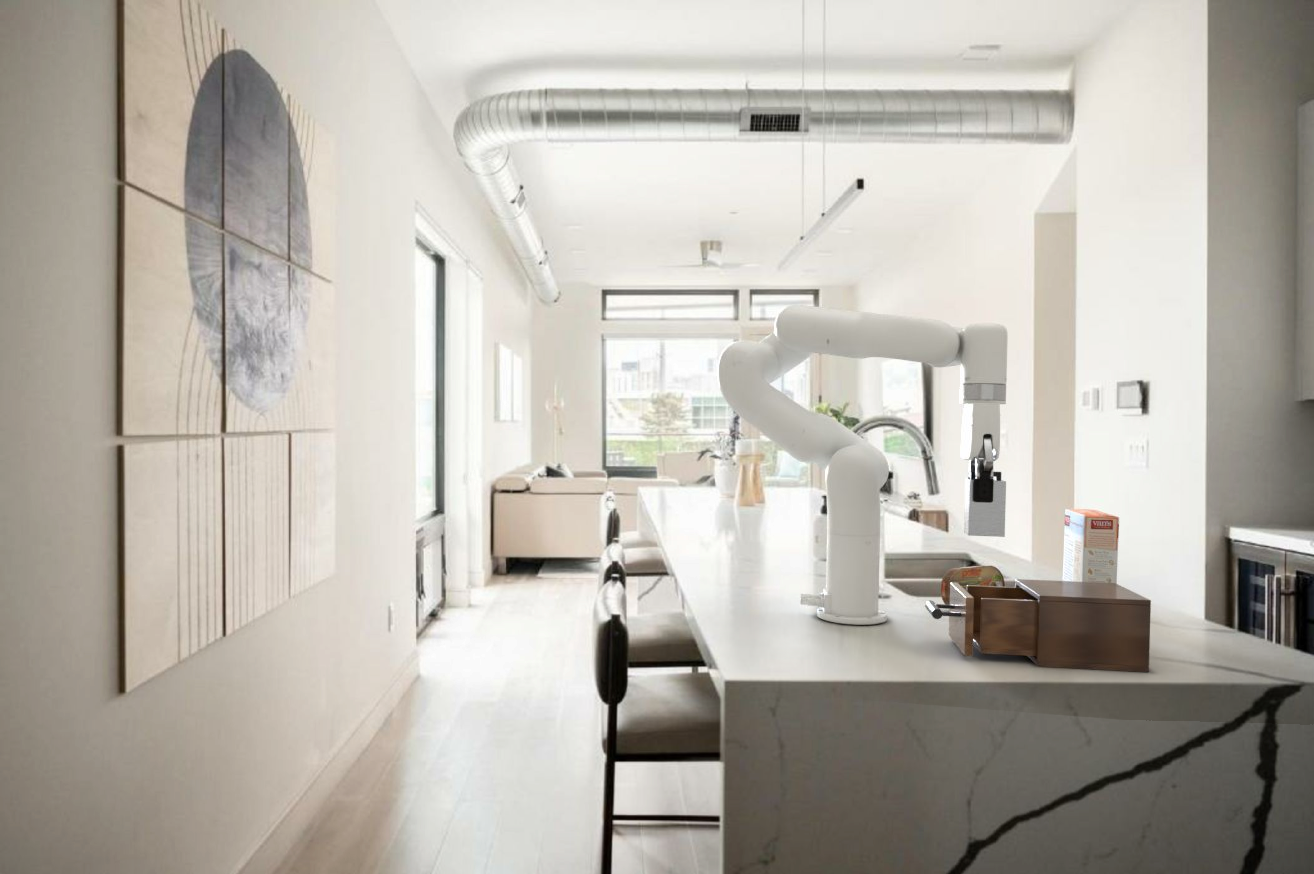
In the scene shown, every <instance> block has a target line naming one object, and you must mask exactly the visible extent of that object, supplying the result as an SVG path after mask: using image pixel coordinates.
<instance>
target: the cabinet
mask: <svg viewBox="0 0 1314 874" xmlns="http://www.w3.org/2000/svg"><path fill="white" fill-rule="evenodd" d="M1014 587H1021V588H1022V589H1024V590H1025V591H1026V592H1028V593H1029V594H1031V595H1032V596H1034V597H1035V598H1036V599H1038V622H1037V656H1027V657H1028V659H1029V660H1030V661H1032V662H1033V663H1034V664H1035V665H1036V666H1037V667H1043V668H1063V669H1081V670H1100V671H1101V670H1102V671H1103V670H1104V671H1118V672H1119V671H1120V672H1136V673H1137V672H1139V673H1150V649H1151V648H1150V645H1151V643H1150V642H1151V641H1150V640H1151V639H1150V638H1151V610H1152V609H1151V607H1152V600H1151V599H1149V598H1147V597H1145V596H1143V595H1141V594H1139V593H1137V592H1135V591H1132V590H1130V589H1129V588H1127V587H1124V586H1122V585H1120V584H1118V583H1117V584H1116V583H1099V582H1074V581H1063V580H1051V579H1050V580H1049V579H1048V580H1047V579H1045V580H1044V579H1022V578H1015V580H1014Z"/></svg>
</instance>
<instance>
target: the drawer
mask: <svg viewBox="0 0 1314 874" xmlns="http://www.w3.org/2000/svg"><path fill="white" fill-rule="evenodd" d="M924 607H925V609H926V610H927V611H928V612H929V614H930V615H931V616H932V618H933V619H935V620H939V619H941V618H942V617H948V636H949V637H950V639H951V640H952V642H954V644H955V645H956V646H957V648H958V649H959V651H961V653H962V654H963V656H965V657H966V656H968V657H973V656H974V655H973V654H974V653H973V652H974V647H975V648H976V650H977V651H978V652H979V653H980V654H985V655H987V654H989V655H1008V656H1026V657H1028V656H1037V622H1038V599H1036V598H1035V597H1034V596H1032V595H1031V594H1029V593H1028V592H1026V591H1025V590H1024V589H1022V588H1021V587H1015V586H1005V587H1001V586H977V585H967V590H965V589H964V588H963V587H961V586H960V585H959V584H958V583H952V582H950V605H947V604H945V603H935V602H934V600H927V601H926V602H925V605H924ZM943 609H945V610H949V611H942V610H943Z"/></svg>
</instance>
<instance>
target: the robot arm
mask: <svg viewBox="0 0 1314 874" xmlns="http://www.w3.org/2000/svg"><path fill="white" fill-rule="evenodd" d="M773 327H774V328H773V330H774V331H773V332H771V333H770V334H768V335H767V336H765V337H764V338H763V339H761V340H759V341H754V340H750V339H740V340H739V339H738V340H736V341H733V342H730V343H729V344H728V345H727V346H725V348H724V349H723V350H722V352H721V354H720V356H719V359H718V362H717V371H716V373H717V374H716V376H717V382H718V387H719V390H720V393H721V395H722V397H723V399H724V401H725V402H726V403H727V405H728V406H729V407H730V408H731V409H732V411H734V413H735V414H736V415H738V417H740V418H741V419H742V420H744V421H745V422H746V423H747V424H749V425H750V426H752V427H753V428H754V429H756V430H757V431H758V432H760V434H762V436H764V437H766V438H767V439H769V440H770V441H771V442H773V443H774V444H775V445H777V446H778V447H780V449H782V450H783V451H784V452H786V453H787V454H788V455H789V456H790V457H792V458H793V459H794V460H797V461H799V462H800V463H805V464H806V463H807V464H809V463H810V464H811V463H812V464H814V465H815V466H817V468H819V469H821V470H822V471H824V472H825V493H826V513H827V514H826V517H827V518H826V562H825V563H826V564H825V565H826V567H825V569H826V570H825V588H824V589H823V590H822V592H817V594H811V593H800V605H807V606H809V607H810V606H811V607H815V606H816V607H818V608H817V609H816V616H817V617H818V618H819V619H820V620H823V621H826V622H831V623H836V624H843V625H855V626H856V625H857V626H859V625H860V626H866V625H868V626H869V625H877V624H878V625H879V624H882V623H885V622H886V621H887V620H888V613H887V612H886V611H884V610H882V609H879V601H880V600H879V598H880V597H879V595H880V557H881V556H880V554H881V499H880V498H881V497H880V496H881V495H880V493H881V491H880V490H881V489H882V487H884V485H885V484H886V483H887V480H888V478H889V473H890V466H889V463H888V459H887V457H886V456H885V455H884V453H883V452H882V451H881V450H880V449H878V448H877V447H876V446H875V445H873V444H872V443H870V442H869V441H867V440H865V439H864V438H863V437H861V436H860V435H859V434H857V433H856V432H854V431H853V430H851V429H850V428H848V427H847V426H846V425H844V424H843V423H841V422H840V421H838V420H836V419H835V418H834V417H832V416H829V415H828V414H825V413H820V412H813V411H811V410H808V409H807V408H805V407H803V406H802V405H800V404H799V403H797V402H796V401H794V400H793V399H791V398H790V397H789V396H788V395H786V394H785V393H783V392H782V391H781V390H779V389H777V388H775V387H774V386H773V385H771V384H772V383H774V382H775V381H777V380H778V379H780V378H782V377H783V376H784V375H786V374H787V373H789V372H790V371H792V370H793V369H794V368H796V367H797V366H799V365H801V364H802V363H803V362H804V361H806V360H807V359H809V358H811V356H813V355H814V354H820V355H829V356H836V357H844V358H851V359H859V360H861V359H862V360H863V359H867V358H884V359H894V360H902V361H908V362H915V363H922V364H927V365H929V366H930V367H933V368H949V367H957V366H960V380H959V381H960V387H959V388H960V389H959V404H962V405H964V408H963V413H962V424H961V442H960V457H961V459H962V460H965V461H969V462H968V477H967V479H970V471H975V475H976V479H974V481H973V501H974V502H985V503H992V502H993V486H994V480H995V478H994V476H993V472H994V462H995V461H997V460H999V457H1000V451H1001V449H1000V448H1001V405H1007V377H1008V376H1007V374H1008V373H1007V371H1008V339H1009V338H1008V336H1009V335H1008V330H1007V328H1006V326H1004V325H1003V324H1000V323H993V322H992V323H991V322H988V323H987V322H982V323H972V324H968V325H965V326H964V327H957V326H951V325H950V324H949V323H947V322H945V321H942V320H939V319H938V320H937V319H931V318H923V317H915V316H914V317H913V316H906V315H905V316H904V315H897V314H896V315H895V314H885V313H884V314H882V313H876V312H869V311H860V310H859V311H858V310H850V309H849V310H848V309H842V308H841V309H838V308H830V307H822V306H813V305H806V304H805V305H804V304H793V305H788V306H786V307H784V308H783V309H782V310H780V311H779V313H777V315H776V318H775V320H774V325H773Z"/></svg>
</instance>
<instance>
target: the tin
mask: <svg viewBox="0 0 1314 874" xmlns="http://www.w3.org/2000/svg"><path fill="white" fill-rule="evenodd" d="M950 582H952V583H958V584H959V585H960V586H961V587H963V588H964V589H965V590H967V585H977V586H1001V587H1006V583H1005V578H1004V575H1003V573H1002V572H1001V571H1000V569H999V568H998V567H996V566H994V565H972V566H963V567H954V568H950V569H949V570H947V571H946V572H945V574H944V575H943V577H942V579H941V583H940V595H941V600H942V602H943V604H947V605H950Z"/></svg>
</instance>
